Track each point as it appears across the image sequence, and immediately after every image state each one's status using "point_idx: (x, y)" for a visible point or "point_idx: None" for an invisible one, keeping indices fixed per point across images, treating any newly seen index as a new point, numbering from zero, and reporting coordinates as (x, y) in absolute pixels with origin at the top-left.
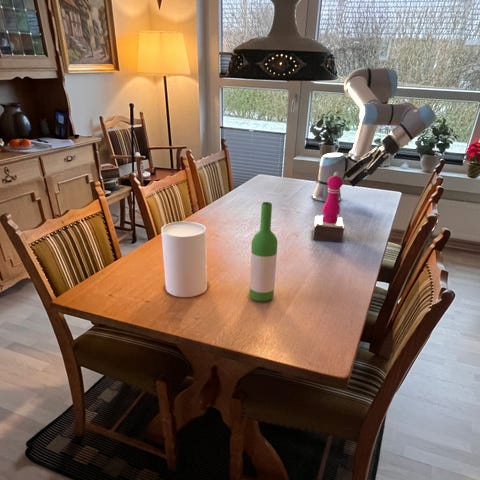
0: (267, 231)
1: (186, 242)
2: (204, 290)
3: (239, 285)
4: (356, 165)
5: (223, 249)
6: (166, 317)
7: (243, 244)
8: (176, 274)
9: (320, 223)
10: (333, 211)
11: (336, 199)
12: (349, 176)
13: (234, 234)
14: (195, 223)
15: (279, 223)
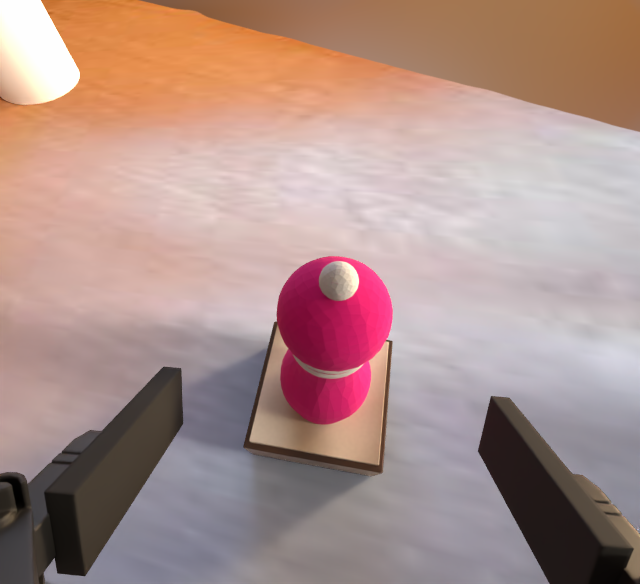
0: None
1: None
2: (6, 99)
3: (11, 148)
4: (568, 530)
5: (216, 127)
6: None
7: (246, 162)
8: None
9: (282, 340)
10: (280, 374)
11: (303, 370)
12: (487, 458)
13: (319, 147)
14: None
15: (436, 256)
